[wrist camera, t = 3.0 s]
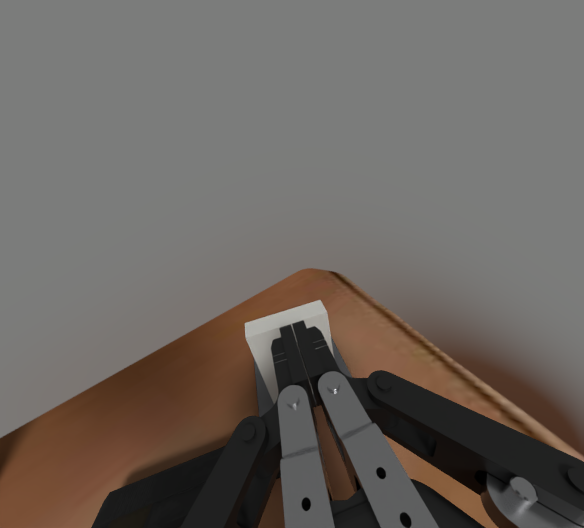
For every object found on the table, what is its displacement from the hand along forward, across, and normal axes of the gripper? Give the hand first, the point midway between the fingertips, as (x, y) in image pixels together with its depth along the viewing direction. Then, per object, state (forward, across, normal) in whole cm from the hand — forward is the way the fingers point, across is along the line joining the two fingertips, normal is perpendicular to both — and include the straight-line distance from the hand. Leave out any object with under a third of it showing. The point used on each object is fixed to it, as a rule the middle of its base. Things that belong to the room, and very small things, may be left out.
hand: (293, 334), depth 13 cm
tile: (+7, 0, +17) cm, 19 cm away
